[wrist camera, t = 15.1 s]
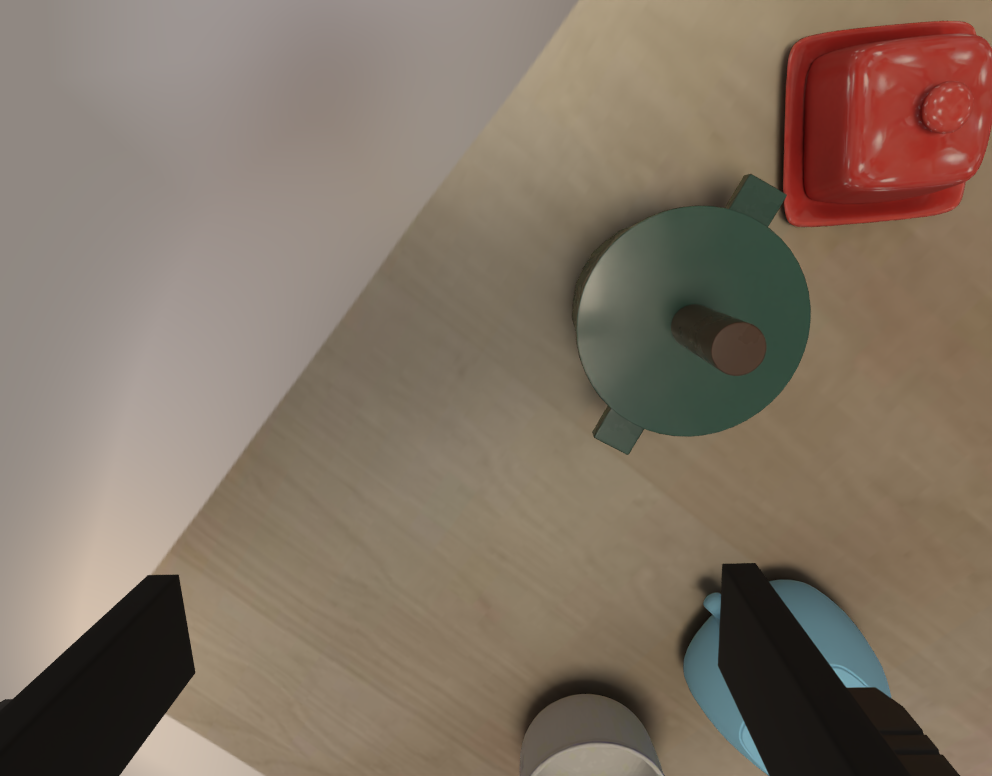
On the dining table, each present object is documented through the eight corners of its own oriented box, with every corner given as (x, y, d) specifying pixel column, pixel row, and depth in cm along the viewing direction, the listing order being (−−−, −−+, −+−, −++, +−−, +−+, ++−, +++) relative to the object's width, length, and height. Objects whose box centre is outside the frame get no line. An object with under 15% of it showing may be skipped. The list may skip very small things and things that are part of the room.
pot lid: (534, 368, 37) (539, 407, 29) (647, 163, 34) (691, 139, 26) (722, 466, 38) (780, 532, 30) (847, 275, 35) (951, 287, 27)
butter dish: (951, 215, 42) (1059, 210, 34) (773, 230, 42) (836, 228, 34) (967, 23, 39) (1087, -34, 31) (777, 41, 40) (845, -10, 31)
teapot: (846, 902, 42) (667, 730, 39) (781, 769, 52) (636, 627, 50) (1012, 796, 39) (833, 606, 37) (909, 679, 50) (764, 525, 47)
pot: (524, 374, 45) (526, 405, 37) (647, 150, 41) (680, 129, 33) (664, 448, 46) (697, 494, 38) (797, 235, 42) (865, 235, 34)
